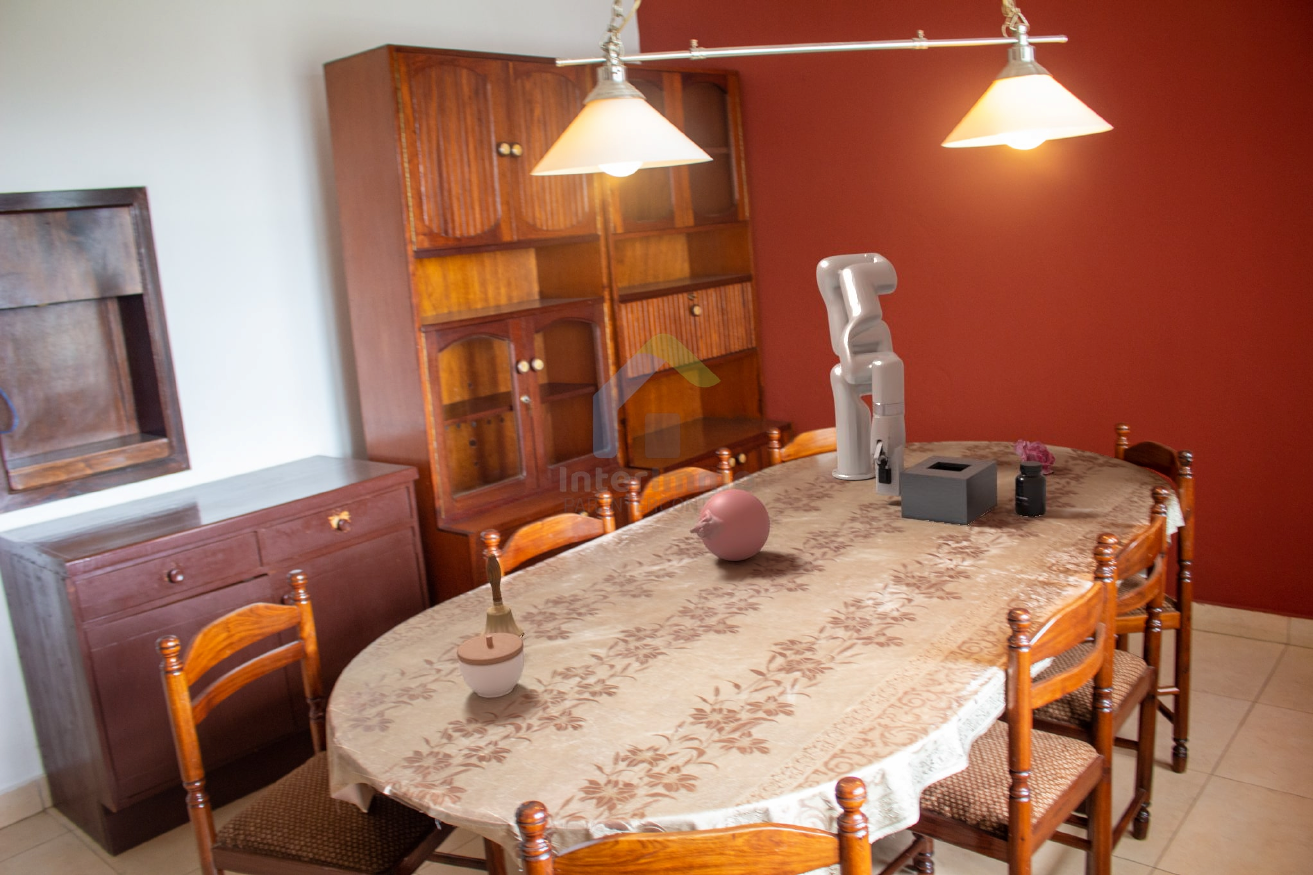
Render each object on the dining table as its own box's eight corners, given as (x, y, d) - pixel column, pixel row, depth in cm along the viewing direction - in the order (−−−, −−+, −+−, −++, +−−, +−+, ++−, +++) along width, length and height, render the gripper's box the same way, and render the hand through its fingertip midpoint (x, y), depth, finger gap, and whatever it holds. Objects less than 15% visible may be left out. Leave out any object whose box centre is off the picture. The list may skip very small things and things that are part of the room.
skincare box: (905, 491, 254) (904, 444, 251) (899, 496, 251) (898, 449, 248) (881, 489, 257) (880, 443, 254) (875, 494, 254) (874, 447, 251)
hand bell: (527, 640, 188) (518, 557, 185) (482, 648, 186) (471, 564, 182) (520, 624, 196) (511, 544, 192) (476, 632, 194) (466, 551, 190)
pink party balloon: (669, 565, 222) (664, 496, 219) (740, 543, 233) (735, 477, 230) (714, 582, 210) (709, 509, 207) (786, 557, 221) (782, 488, 218)
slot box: (934, 498, 256) (933, 455, 254) (997, 505, 246) (996, 460, 244) (901, 517, 242) (900, 472, 240) (966, 526, 232) (966, 479, 230)
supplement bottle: (1013, 517, 236) (1013, 466, 234) (1015, 508, 242) (1015, 459, 240) (1045, 518, 234) (1045, 467, 231) (1046, 509, 240) (1046, 459, 237)
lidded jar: (490, 710, 161) (484, 655, 159) (448, 694, 168) (441, 640, 166) (541, 684, 169) (535, 631, 167) (499, 669, 176) (493, 618, 174)
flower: (1059, 483, 272) (1065, 458, 265) (1021, 489, 272) (1026, 464, 265) (1043, 451, 280) (1049, 426, 272) (1007, 457, 280) (1012, 432, 273)
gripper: (890, 400, 257) (891, 470, 262) (857, 414, 245) (859, 487, 249) (918, 402, 253) (919, 473, 257) (886, 417, 240) (888, 491, 245)
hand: (890, 479), depth 253 cm, fingers closed on skincare box, 4 cm apart
